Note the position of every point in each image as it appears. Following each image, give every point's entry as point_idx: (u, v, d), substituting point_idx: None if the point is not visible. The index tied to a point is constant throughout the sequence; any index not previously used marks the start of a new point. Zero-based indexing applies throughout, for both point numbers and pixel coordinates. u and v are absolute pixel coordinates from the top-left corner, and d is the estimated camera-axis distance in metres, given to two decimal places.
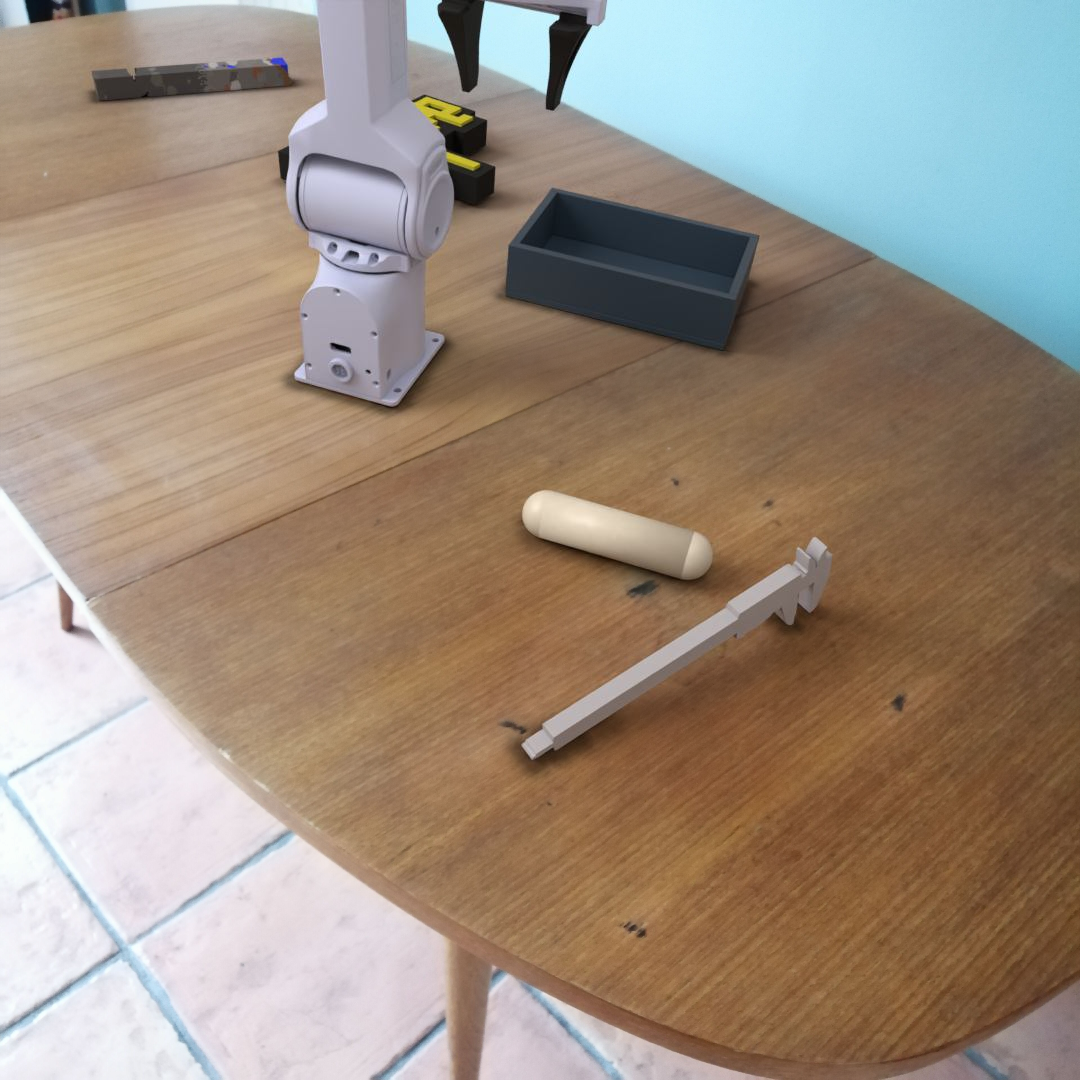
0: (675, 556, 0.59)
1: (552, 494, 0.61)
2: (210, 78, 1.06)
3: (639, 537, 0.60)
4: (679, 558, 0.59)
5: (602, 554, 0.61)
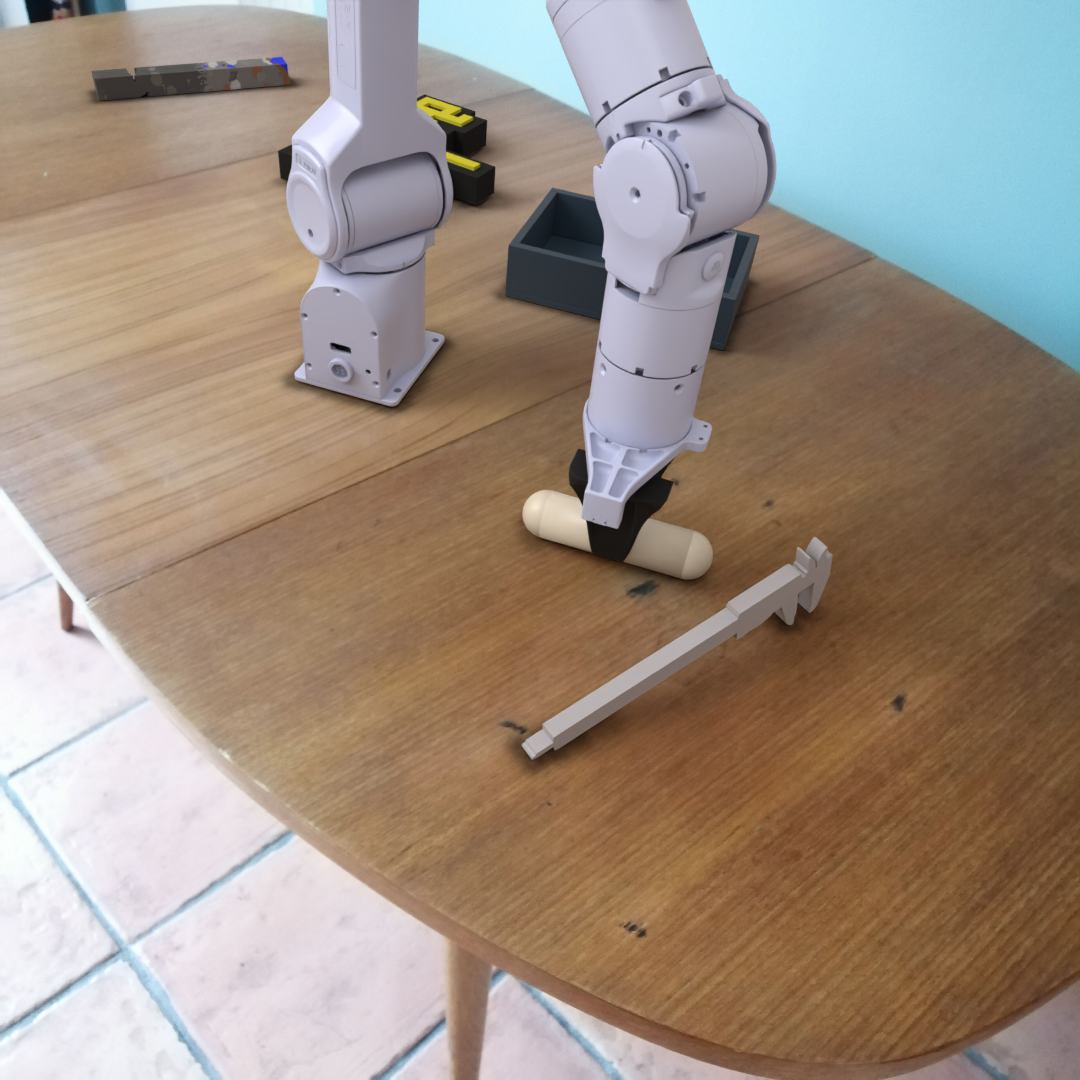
0: (675, 555, 0.59)
1: (552, 494, 0.61)
2: (210, 78, 1.06)
3: (639, 536, 0.60)
4: (679, 558, 0.59)
5: None
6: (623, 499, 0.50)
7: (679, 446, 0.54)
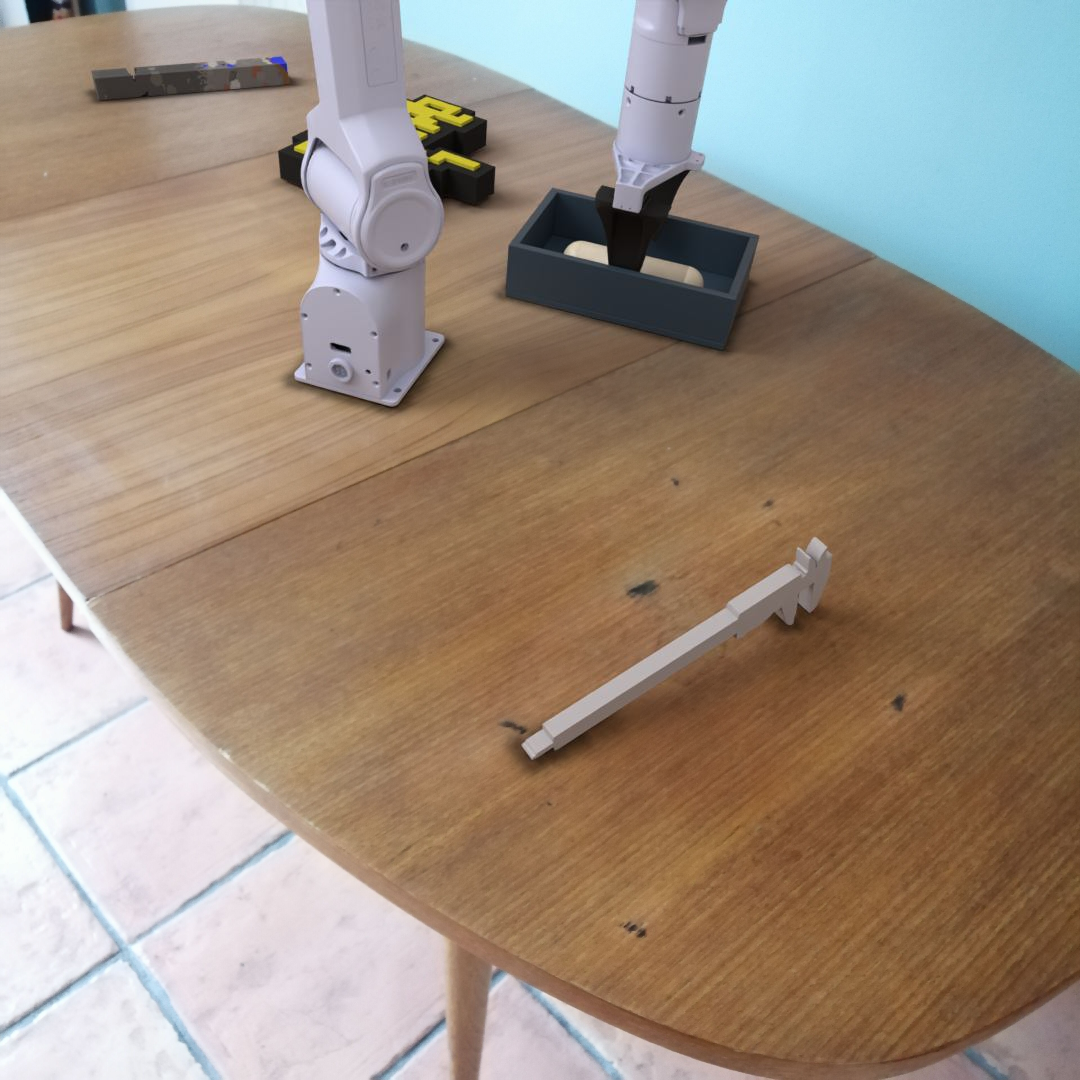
0: None
1: (582, 247, 0.83)
2: (210, 77, 1.06)
3: None
4: None
5: None
6: (642, 187, 0.72)
7: (681, 164, 0.75)
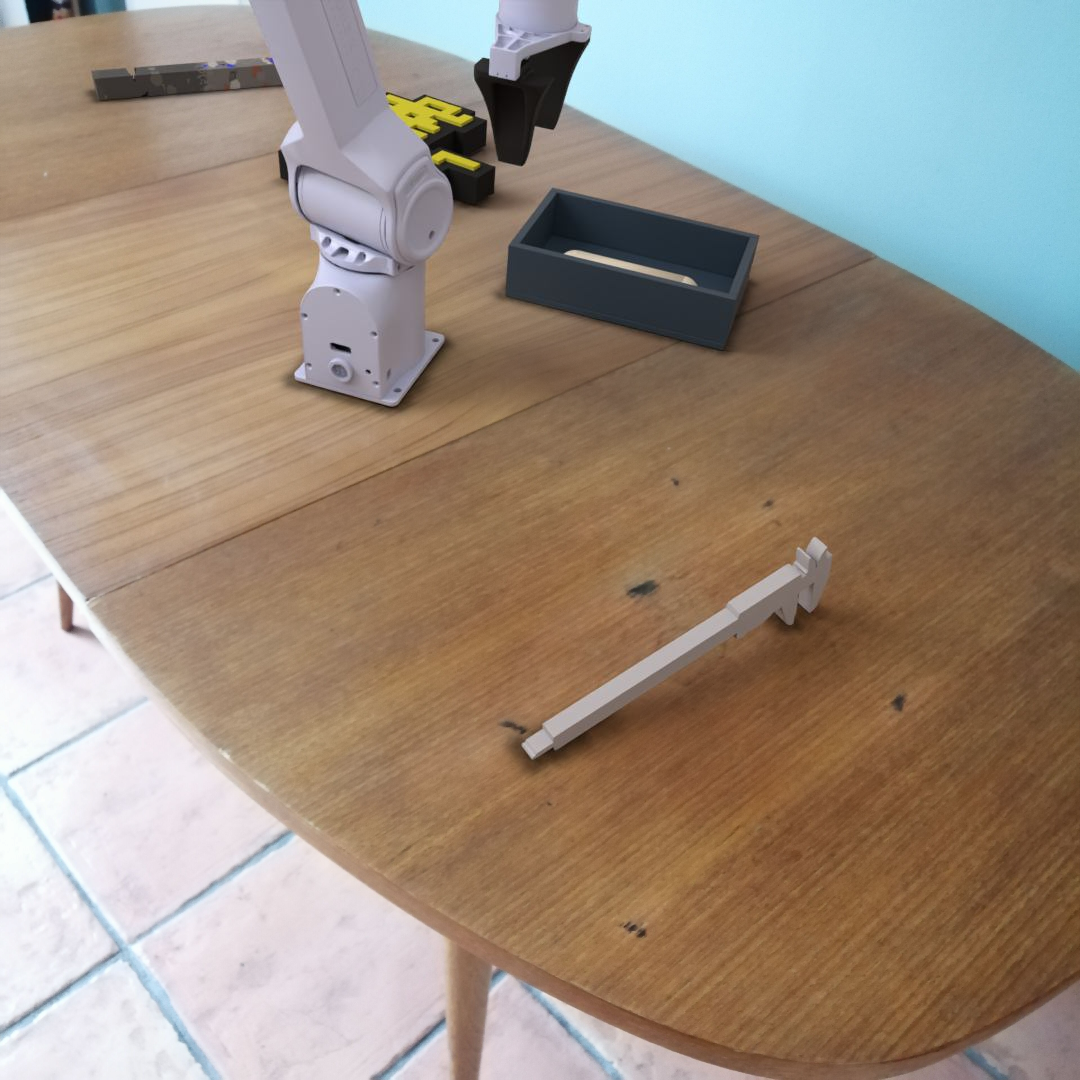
0: None
1: None
2: (210, 77, 1.06)
3: None
4: None
5: None
6: (518, 51, 0.68)
7: (565, 33, 0.72)
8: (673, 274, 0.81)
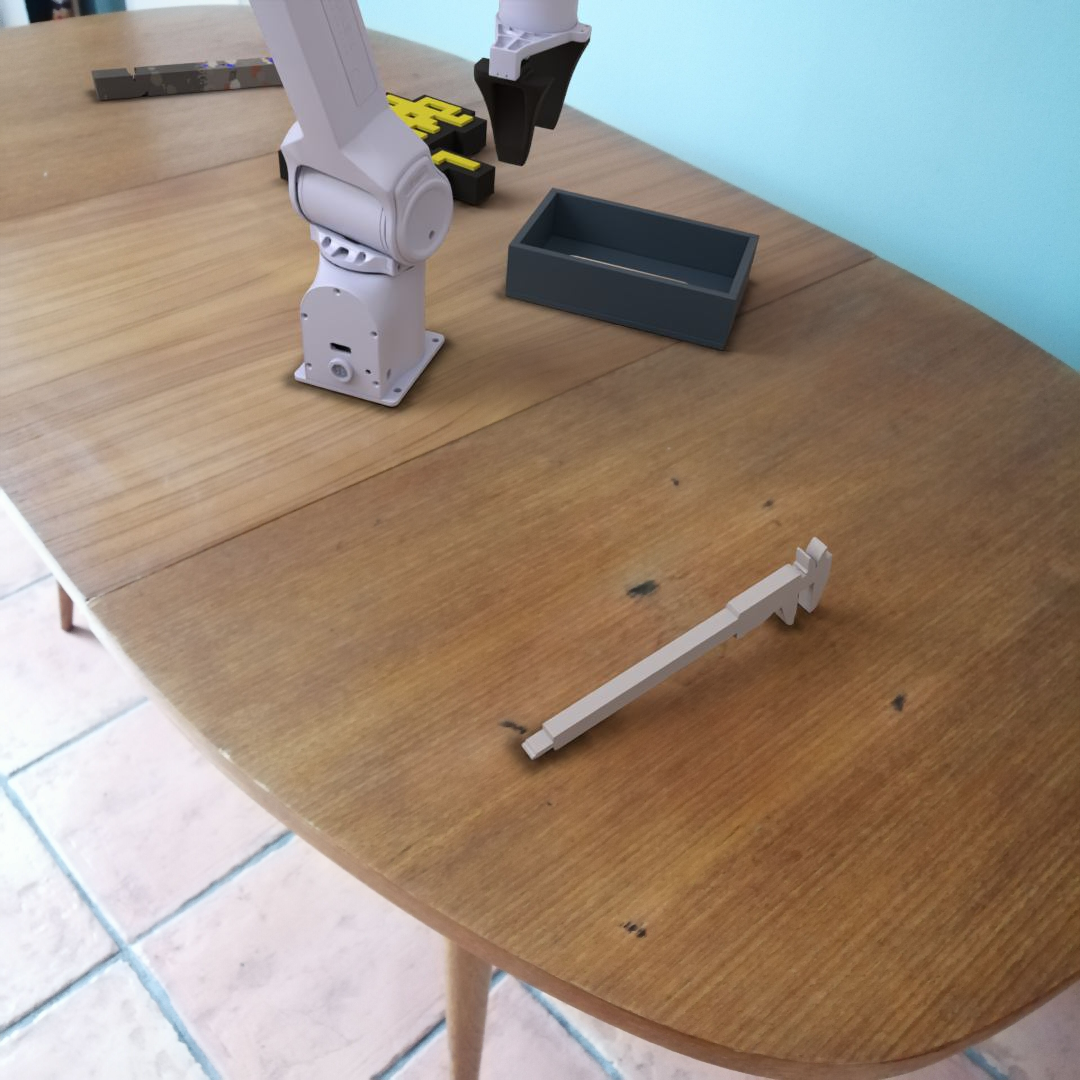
0: None
1: None
2: (210, 77, 1.06)
3: None
4: None
5: None
6: (518, 51, 0.68)
7: (565, 33, 0.72)
8: None
